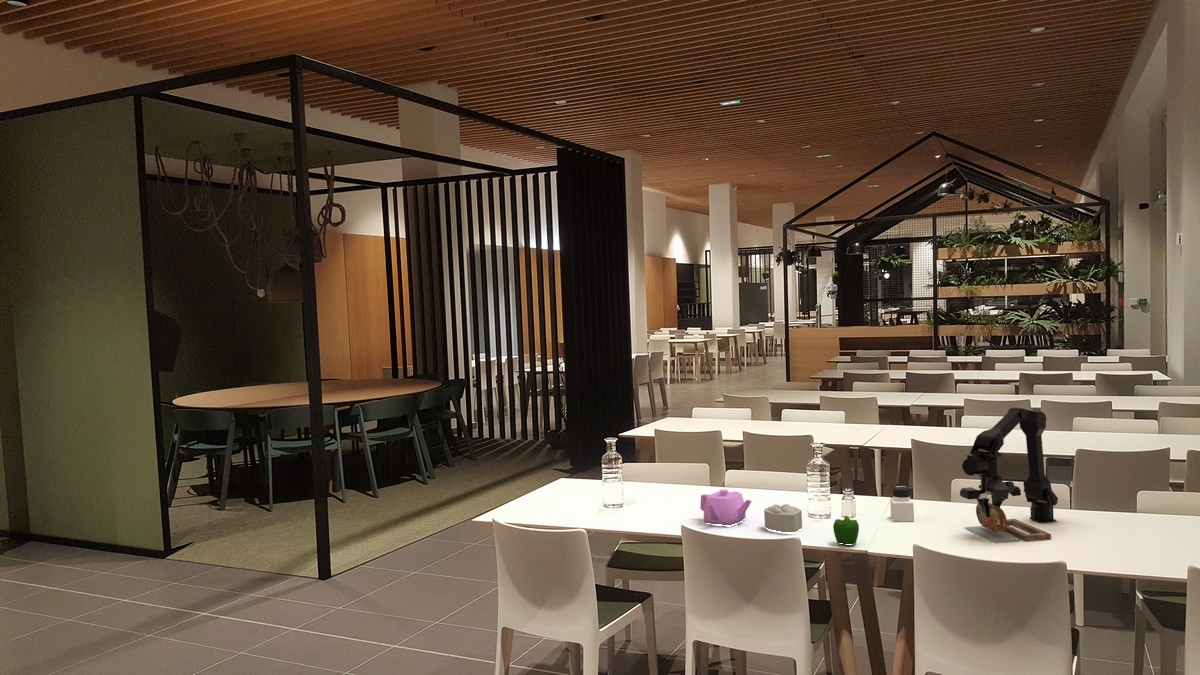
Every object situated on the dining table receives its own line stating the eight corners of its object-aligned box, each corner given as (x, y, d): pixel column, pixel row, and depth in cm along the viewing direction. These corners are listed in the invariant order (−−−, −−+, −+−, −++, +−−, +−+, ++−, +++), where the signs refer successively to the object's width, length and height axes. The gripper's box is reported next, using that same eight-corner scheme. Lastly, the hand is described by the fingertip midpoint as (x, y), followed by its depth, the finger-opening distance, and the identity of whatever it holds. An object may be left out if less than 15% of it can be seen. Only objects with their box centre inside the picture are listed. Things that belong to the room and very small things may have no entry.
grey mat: (988, 526, 297) (988, 525, 297) (1020, 540, 278) (1020, 539, 278) (964, 528, 296) (964, 527, 296) (994, 542, 277) (994, 541, 277)
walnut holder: (1014, 523, 299) (1014, 518, 299) (1051, 539, 278) (1051, 534, 278) (990, 525, 298) (989, 520, 298) (1025, 541, 277) (1025, 536, 277)
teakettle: (738, 515, 331) (737, 483, 331) (754, 525, 314) (752, 492, 314) (696, 519, 328) (695, 487, 328) (710, 530, 311) (709, 496, 311)
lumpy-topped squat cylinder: (793, 535, 298) (792, 511, 298) (759, 531, 306) (758, 507, 306) (805, 528, 306) (804, 504, 306) (771, 524, 314) (770, 501, 314)
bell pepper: (835, 539, 290) (834, 510, 290) (860, 541, 287) (859, 512, 287) (832, 546, 282) (831, 516, 282) (857, 548, 279) (856, 518, 279)
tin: (976, 523, 295) (973, 499, 294) (985, 521, 295) (982, 498, 294) (1000, 536, 280) (997, 511, 279) (1009, 534, 280) (1007, 509, 279)
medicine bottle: (914, 521, 308) (912, 489, 308) (893, 521, 309) (892, 489, 309) (910, 516, 315) (909, 484, 315) (890, 516, 316) (889, 485, 316)
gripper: (975, 478, 277) (977, 525, 278) (1029, 473, 279) (1031, 520, 280) (958, 471, 288) (960, 516, 289) (1010, 467, 290) (1012, 512, 291)
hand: (991, 516), depth 287 cm, fingers closed on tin, 2 cm apart
